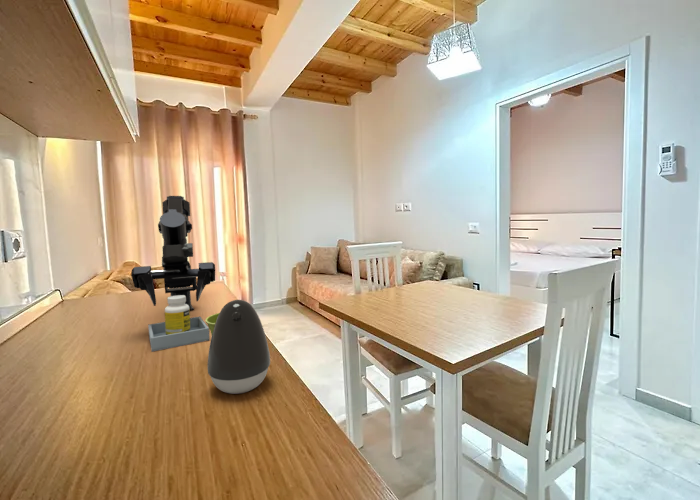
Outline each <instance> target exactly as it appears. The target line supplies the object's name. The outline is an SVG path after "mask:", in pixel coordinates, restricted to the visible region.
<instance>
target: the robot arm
mask: <svg viewBox="0 0 700 500" xmlns="http://www.w3.org/2000/svg"><path fill="white" fill-rule="evenodd" d="M190 203H191V202H189V201H188V200H187V199H185V197H184V196H182V195H168V196H166V199H165V200H164V201H162V214H161V215H160V216H159V221H158V223H157V228H158V232H159V234H161V236H162V238H163V245H162V256H161V267H162V269H160V270H152V265H145V266H134V267H133V268H132V269H131V272H130V273H131V279H132V282H133V286H134V288H135V289H140V291H145V292H146V293H147V295H148V296H149V298H150V300H151V302H152V304H153V305H152V306H153V307H155V306H156V305H157V297H156V292H155V285H154V280H163V284H164V294H170V296H176V295H185V296H186V302H185V304H187V305H188V306H189V309H190V311H194V310H195V308H194V307H193V305H192V295H191V292H192V291H193V292H194V291H195V301H196V302H199V299H200V297H201V296H202V293H203V290H204V289H205V288H206V286H208V285H210V284H211V283H214V282H215V281H216V264H215V262H212V261H210V262H199V263H198V268H192V266H191V265H192V264H190V261H189V260H188V258H191V257H192V258H193V257H194V249H193V247H194V246H193V243H192V242H190V243H189V242H188V239H187V237H188V234H190V233H191V231H192V230H193V224H192V223H191V222H190V220H189V217H191V207H190V205H191V204H190Z"/></svg>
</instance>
